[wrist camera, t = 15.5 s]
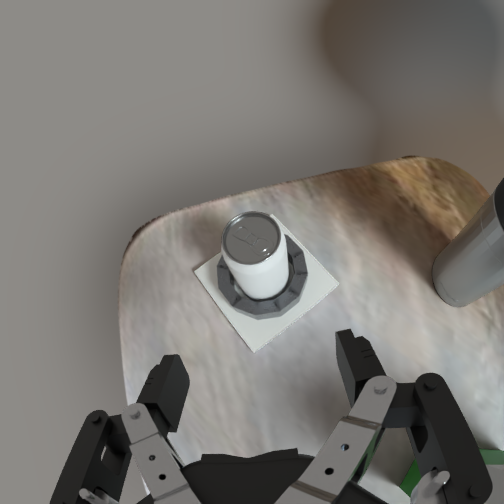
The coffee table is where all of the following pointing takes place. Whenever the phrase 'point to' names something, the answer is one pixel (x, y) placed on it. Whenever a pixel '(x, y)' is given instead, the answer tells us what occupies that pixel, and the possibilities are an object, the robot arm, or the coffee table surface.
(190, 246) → the coffee table surface
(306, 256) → the socket plate
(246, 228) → the can
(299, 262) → the collar
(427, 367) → the coffee table surface
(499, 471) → the hardback book
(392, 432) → the coffee table surface
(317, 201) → the coffee table surface
